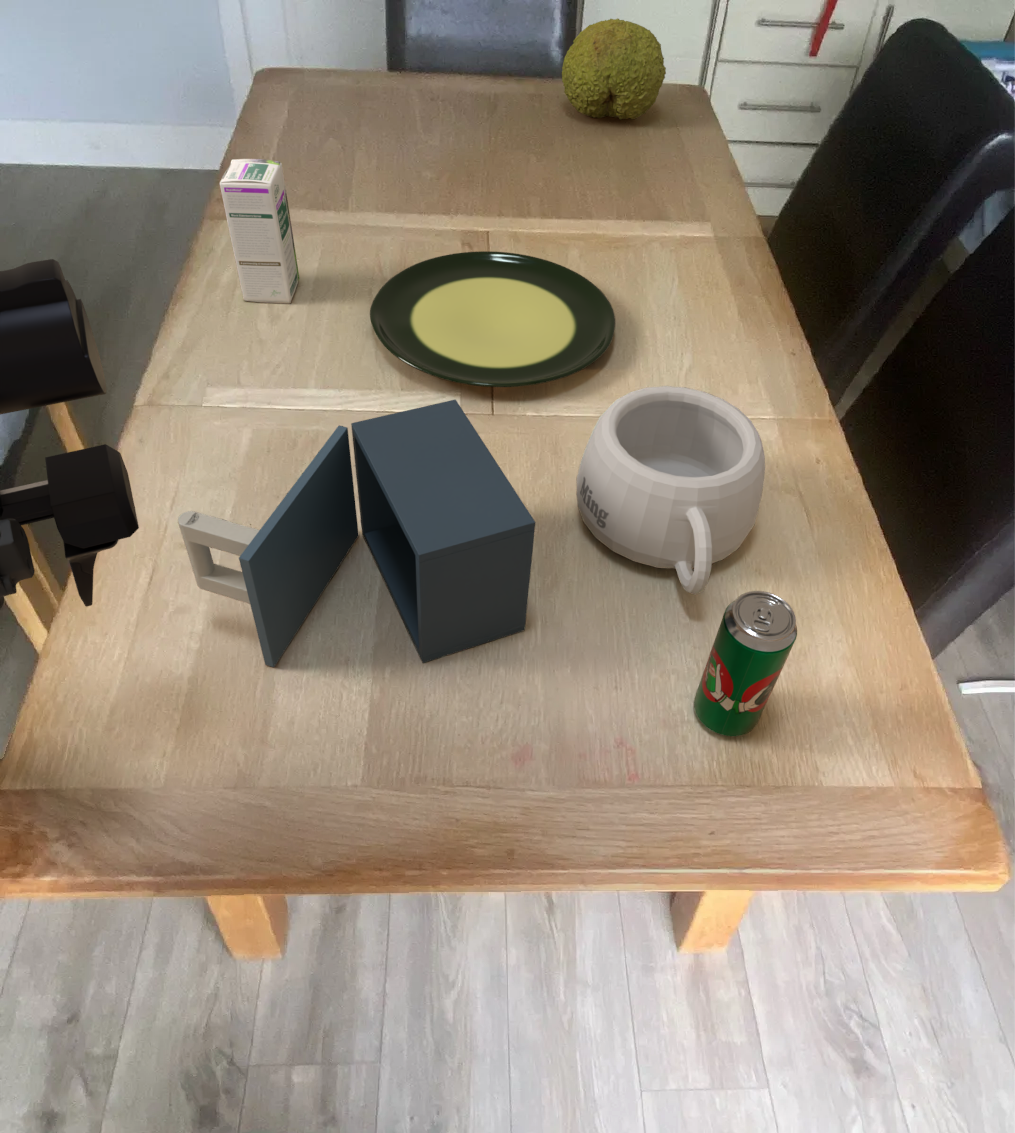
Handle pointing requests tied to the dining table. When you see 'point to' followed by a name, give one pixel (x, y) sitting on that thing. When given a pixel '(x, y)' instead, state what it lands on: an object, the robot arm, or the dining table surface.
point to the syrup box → (260, 229)
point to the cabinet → (443, 528)
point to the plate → (493, 319)
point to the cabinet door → (282, 548)
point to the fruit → (613, 70)
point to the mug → (672, 480)
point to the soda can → (745, 662)
